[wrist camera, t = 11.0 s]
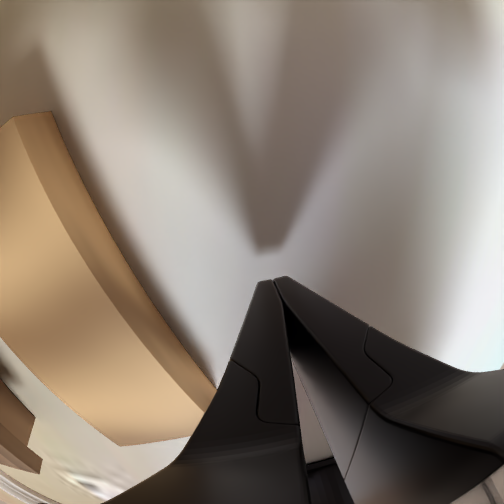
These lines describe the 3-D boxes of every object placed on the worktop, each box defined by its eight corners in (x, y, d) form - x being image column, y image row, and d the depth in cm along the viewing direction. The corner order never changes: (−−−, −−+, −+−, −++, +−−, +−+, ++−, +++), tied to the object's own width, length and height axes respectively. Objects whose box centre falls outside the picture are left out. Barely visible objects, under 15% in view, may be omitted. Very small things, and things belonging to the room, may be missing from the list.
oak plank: (216, 383, 12) (220, 429, 10) (125, 406, 13) (119, 446, 10) (57, 110, 7) (12, 117, 5) (-34, 189, 7) (-75, 214, 5)
